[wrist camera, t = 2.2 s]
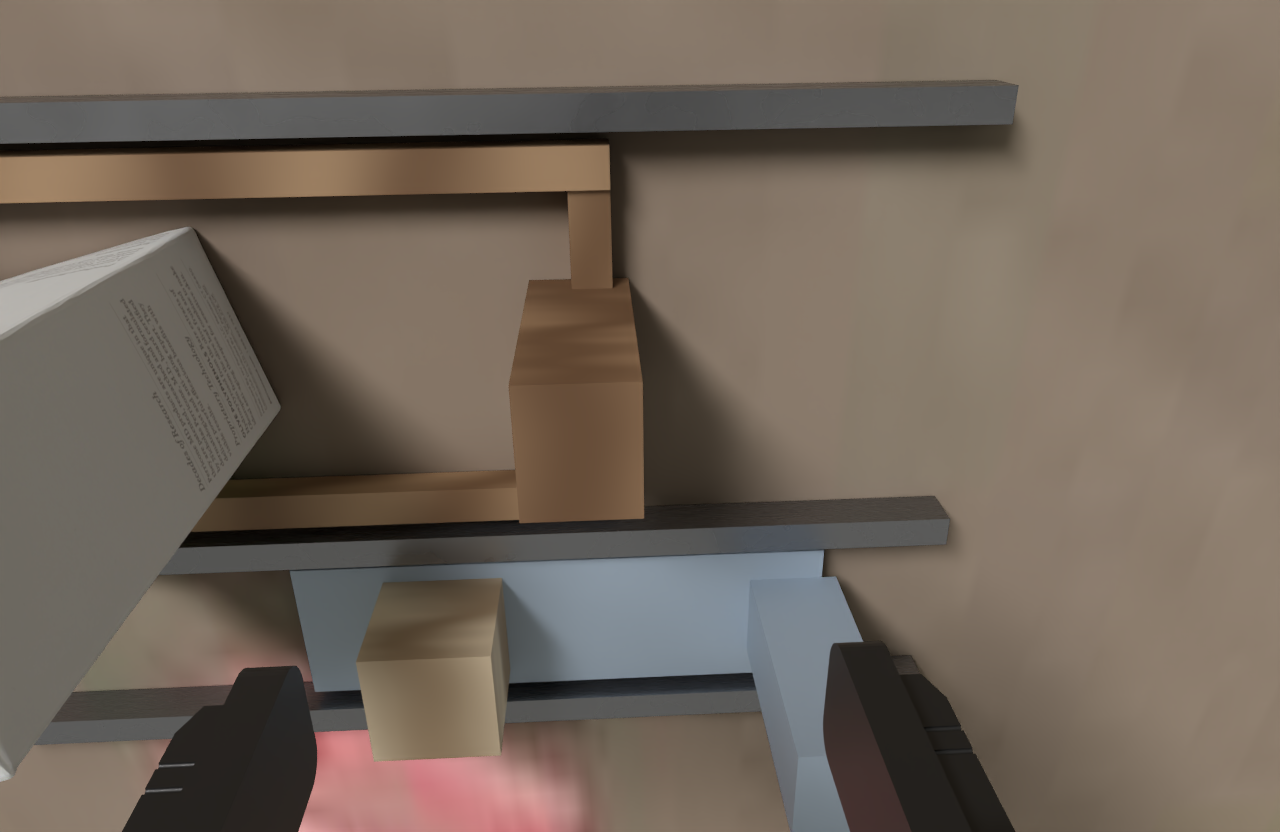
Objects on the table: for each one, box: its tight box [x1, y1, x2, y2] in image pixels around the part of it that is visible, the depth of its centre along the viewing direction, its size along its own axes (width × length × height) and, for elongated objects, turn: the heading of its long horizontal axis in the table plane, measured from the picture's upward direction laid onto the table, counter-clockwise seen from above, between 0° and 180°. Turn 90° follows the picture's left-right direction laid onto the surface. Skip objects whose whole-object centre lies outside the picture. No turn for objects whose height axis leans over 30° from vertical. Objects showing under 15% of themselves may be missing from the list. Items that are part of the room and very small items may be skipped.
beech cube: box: [356, 578, 510, 762], centre depth 30 cm, size 4×4×4 cm
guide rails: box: [0, 80, 1019, 745], centre depth 29 cm, size 34×22×2 cm, turn 91°
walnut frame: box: [0, 139, 644, 532], centre depth 24 cm, size 22×12×8 cm, turn 91°
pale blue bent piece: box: [290, 549, 863, 832], centre depth 29 cm, size 18×5×9 cm, turn 91°
